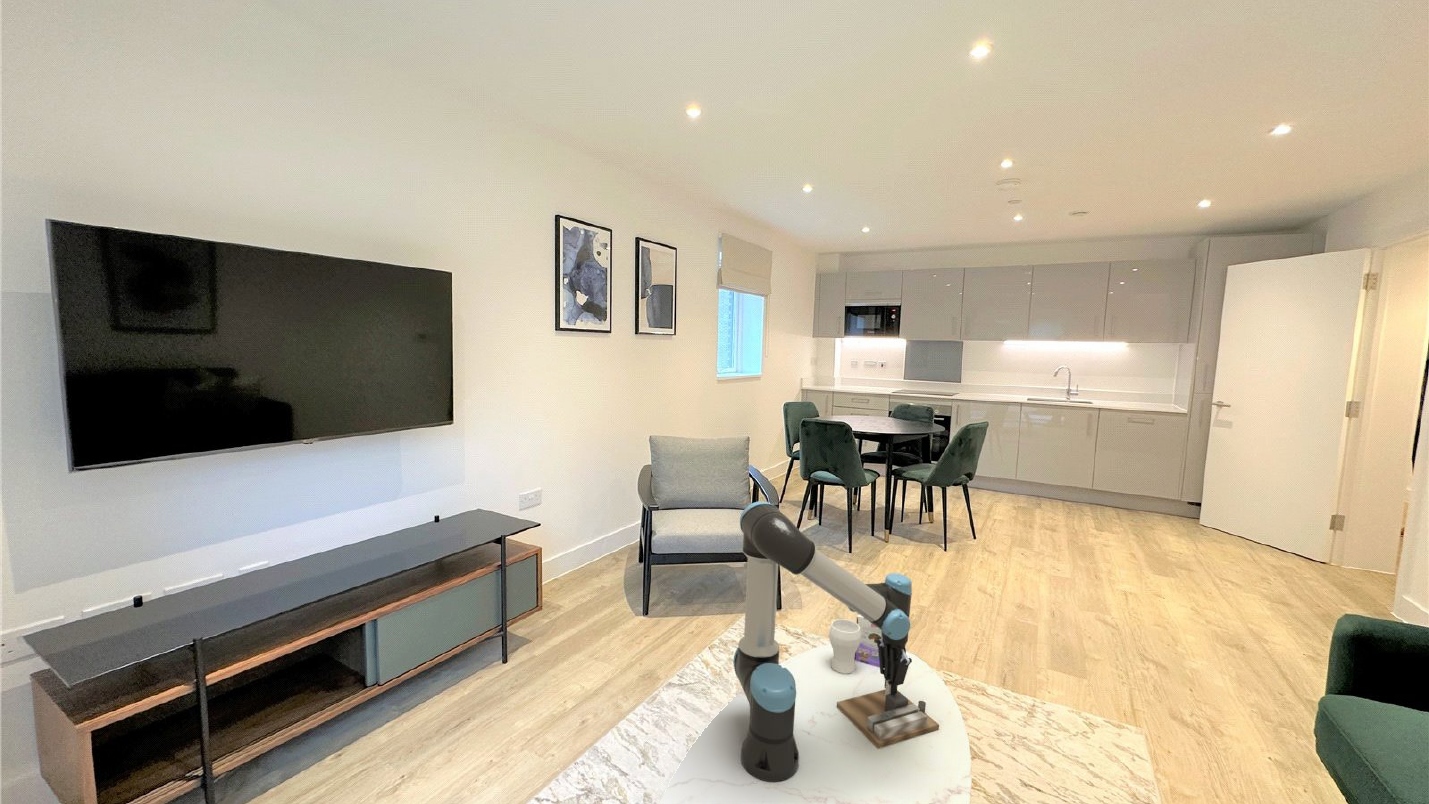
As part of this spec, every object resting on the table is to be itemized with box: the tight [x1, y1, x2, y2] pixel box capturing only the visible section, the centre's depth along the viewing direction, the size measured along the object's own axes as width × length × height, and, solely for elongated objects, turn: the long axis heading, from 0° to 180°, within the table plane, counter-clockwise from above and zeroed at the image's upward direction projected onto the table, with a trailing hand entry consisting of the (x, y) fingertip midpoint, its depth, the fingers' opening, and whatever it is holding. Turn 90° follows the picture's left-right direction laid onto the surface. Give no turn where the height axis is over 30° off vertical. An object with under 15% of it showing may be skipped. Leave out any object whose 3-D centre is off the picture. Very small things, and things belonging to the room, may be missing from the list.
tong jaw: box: [867, 703, 920, 732], centre depth 159 cm, size 17×2×3 cm, turn 113°
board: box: [836, 689, 940, 750], centre depth 164 cm, size 22×19×6 cm
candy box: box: [854, 613, 882, 668], centre depth 193 cm, size 14×6×16 cm, turn 65°
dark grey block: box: [885, 691, 908, 711], centre depth 165 cm, size 5×4×4 cm
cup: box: [828, 618, 861, 675], centre depth 189 cm, size 11×11×15 cm
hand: (889, 701), depth 167 cm, fingers closed
